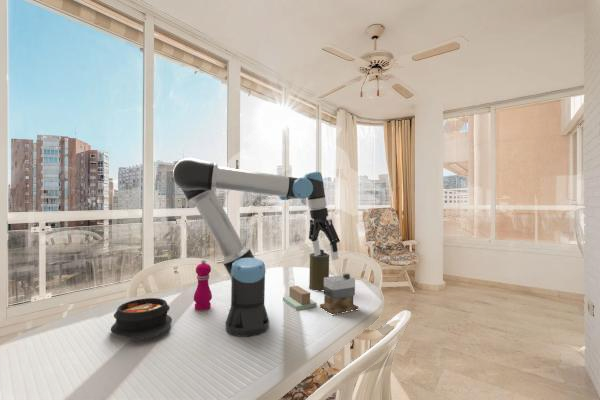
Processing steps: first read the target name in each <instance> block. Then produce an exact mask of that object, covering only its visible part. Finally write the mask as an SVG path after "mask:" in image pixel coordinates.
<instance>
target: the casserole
mask: <svg viewBox="0 0 600 400" xmlns="http://www.w3.org/2000/svg"><path fill="white" fill-rule="evenodd" d="M170 307H171V306H169V305H168V302H167V301H166V300H165V299H162V298H155V297H150V298H149V297H148V298H140V299H134V300H130V301H128V302H125V303H122V304H120V305H119V306H118V307H117V310H116V311H115V313H114V314H113V318H115V323H113V325H112V326H111V327H110V332H111V333H112V334H114V335H117V336H122V337H125V338H128V339H131V340H135V341H137V340H143V339H150V338H153V337H156V336H159V335H162V334H164V333H167V332H168V331H169V330H170V329H171V323H172V321H173V319H172V317H171V316H170V315H168V312H169V310H170V309H171V308H170Z"/></svg>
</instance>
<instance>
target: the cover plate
mask: <svg viewBox="0 0 600 400" xmlns="http://www.w3.org/2000/svg"><path fill="white" fill-rule="evenodd" d="M324 286H325V287H327V288H329V289H331V290H338V289H345V288H352V287H355V288H356V278H354V277H352V276H351V274H350V273H342V274H341V275H340V274H339V275H331V276H329V277H324Z"/></svg>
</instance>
